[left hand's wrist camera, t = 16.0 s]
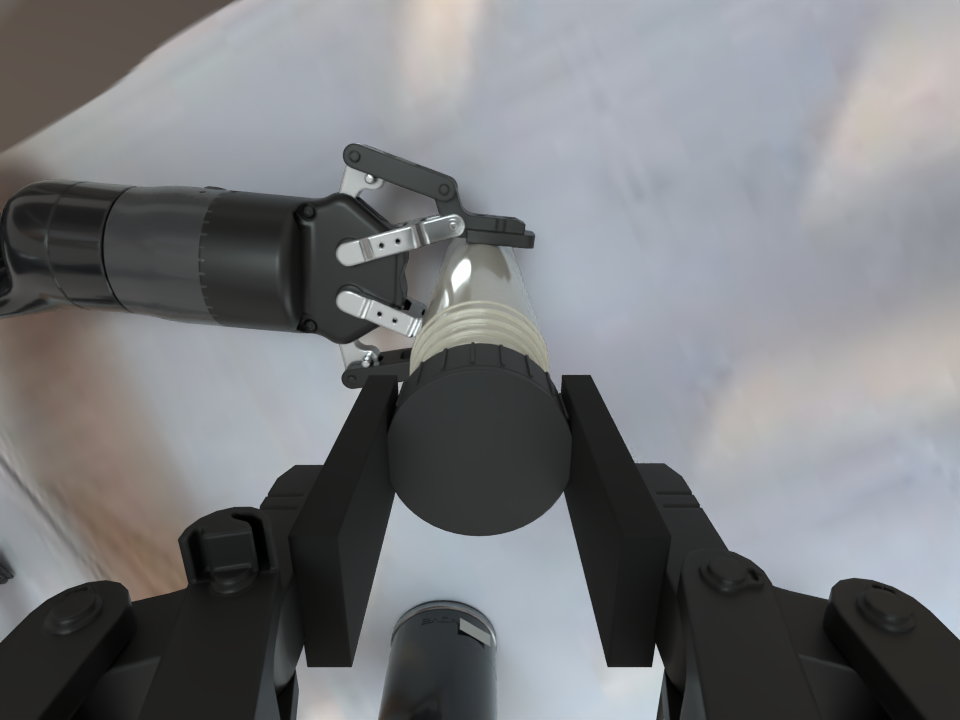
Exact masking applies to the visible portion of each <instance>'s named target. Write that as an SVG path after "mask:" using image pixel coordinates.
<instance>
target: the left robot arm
mask: <svg viewBox="0 0 960 720" xmlns="http://www.w3.org/2000/svg"><path fill="white" fill-rule="evenodd" d="M561 395H562V398H563V401H564V404H565V407H566V410H567V413H568V416H569V418H570V419H568V420H567V421H568V424H569V427H570V430H571V433H572V447H571V462H570V476H569V481H568V483H567V485H566V487H565V489H564V494H565V498H566V502H567V506H568V510H569V514H570V518H571V522H572V526H573V530H574V534H575V538H576V542H577V546H578V550H579V554H580V558H581V562H582V566H583V570H584V574H585V578H586V582H587V586H588V590H589V594H590V598H591V602H592V606H593V610H594V614H595V618H596V622H597V626H598V630H599V634H600V638H601V642H602V646H603V650H604V654H605V658H606V662H607V666H608V667H652V663H653V656H654V650H655V643H656V645H657V648H658V650H659V653H660V656H661V659H662V661H663V664H664V667H665V669H664V675H663V681H662V687H661V693H660V699H659V705H658V712H657V719H656V720H960V640H959V639H958V638H957V637H956V636H955V635H954V634H953V633H952V632H951V631H950V630H949V629H948V628H947V627H946V626H945V625H944V624H943V623H942V622H941V621H940V620H939V619H938V618H937V617H936V616H935V615H934V614H933V613H932V612H931V611H930V610H928V609H927V608H926V607H924V606H923V605H922V604H921V603H919V602H918V601H917V600H916V599H914V598H913V597H911V596H909V595H907V594H905V593H904V592H902V591H900V590H898V589H896V588H894V587H892V586H889V585H886V584H883V583H880V582H877V581H874V580H867V579H859V578H851V579H846V580H840V581H839V582H838V583H837V584H835V585H834V586H833V587H832V589H831V592H830V596H829V599H828V600H827V599H823V598H818V597H814V596H810V595H805V594H801V593H796V592H792V591H788V590H785V589H782V588H778V587H775V586H773V585H772V583H771V581H770V580H769V578H768V577H767V575H766V574H765V572H764V571H763V570H762V569H761V568H760V567H758V566H757V565H756V564H755V563H753V562H752V561H751V560H749V559H747V558H745V557H743V556H741V555H739V554H737V553H735V552H731V551H729V550H728V549H727V547H726V545H725V544H724V542H723V541H722V539H721V537H720V536H719V534H718V533H717V531H716V530H715V528H714V526H713V525H712V523H711V522H710V520H709V518H708V517H707V515H706V514H705V512H704V511H703V509H702V508H700V504H699V503H698V501H697V499H696V498H695V496H694V495H692V492H691V490H690V488H689V487H688V485H687V484H686V482H685V480H684V479H683V477H682V476H681V475H679V474H678V473H677V472H675V471H674V470H673V469H671V468H670V467H668V466H667V465H666V464H664V463H634V461H633V459H632V457H631V455H630V453H629V451H628V449H627V447H626V445H625V443H624V441H623V439H622V437H621V435H620V433H619V431H618V429H617V427H616V425H615V423H614V421H613V419H612V417H611V415H610V413H609V411H608V409H607V407H606V405H605V403H604V401H603V399H602V397H601V395H600V393H599V391H598V389H597V387H596V385H595V383H594V381H593V379H592V377H591V375H562V384H561ZM398 396H399V395H398V378H397V375H369V376H368V378H367V380H366V382H365V384H364V386H363V388H362V390H361V392H360V394H359V396H358V398H357V400H356V402H355V404H354V406H353V408H352V410H351V412H350V414H349V416H348V418H347V420H346V422H345V424H344V426H343V428H342V430H341V432H340V434H339V436H338V438H337V440H336V441H335V443H334V445H333V447H332V449H331V451H330V453H329V455H328V457H327V459H326V461H325V463H324V465H295V466H293V467H292V468H291V469H289V470H288V471H287V472H285V473H284V474H283V475H281V476H280V477H279V478H277V480H276V482H275V483H274V485H273V486H272V488H271V490H270V491H269V493H268V497H265V499H264V501H263V502H262V504H261V505H260V509H257V508H253V507H233V508H228V509H224V510H219V511H216V512H214V513H211V514H209V515H207V516H204V517H202V518H200V519H198V520H197V521H196V522H194V523H193V524H192V525H190V526H189V527H187V528H186V529H185V531H184V532H183V533H182V535H181V536H180V537H179V539H178V542H179V546H180V550H181V554H182V558H183V563H184V567H185V571H186V575H187V579H188V583H189V584H188V586H187V588H185V589H182V590H179V591H176V592H172V593H169V594H164V595H160V596H156V597H151V598H147V599H143V600H138V601H134V602H131V599H130V595H129V592H128V590H127V589H126V588H125V587H124V586H123V585H122V584H121V583H118V582H112V581H107V580H104V581H96V582H88V583H85V584H82V585H78V586H75V587H72V588H69V589H67V590H65V591H63V592H61V593H59V594H57V595H55V596H53V597H52V598H50V599H48V600H46V601H45V602H44V603H42V604H41V605H40V606H39V607H37V608H36V609H35V610H34V611H32V612H31V613H30V614H29V615H28V616H27V617H26V618H25V619H24V620H23V621H22V622H21V623H20V624H19V625H18V626H17V627H16V628H15V629H14V630H13V631H12V632H11V633H10V634H9V635H8V636H7V637H6V638H5V639H4V640H3V641H2V642H1V643H0V720H296V715H297V704H298V694H299V688H298V681H297V675H296V669H295V668H296V665H297V662H298V660H299V657H300V654H301V651H302V648H303V646H304V647H305V654H306V660H307V667H352V664H353V660H354V656H355V652H356V648H357V644H358V640H359V636H360V632H361V628H362V624H363V620H364V616H365V612H366V608H367V604H368V600H369V596H370V592H371V588H372V584H373V580H374V576H375V572H376V568H377V564H378V560H379V556H380V552H381V548H382V544H383V540H384V536H385V532H386V528H387V524H388V520H389V516H390V512H391V508H392V504H393V500H394V496H395V490H394V489H393V486H392V484H391V482H390V470H389V456H388V441H387V431H388V428H389V425H390V422H391V419H392V416H393V413H394V410H395V407H396V402H397V399H398Z"/></svg>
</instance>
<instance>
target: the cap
mask: <svg viewBox="0 0 960 720" xmlns="http://www.w3.org/2000/svg"><path fill="white" fill-rule="evenodd" d="M568 419H570V418H569V416H568V413H567V410H566V407H565V404H564V401H563V398H562V395H561V393H558V391H557V389H556V387H555V385H554V383H553V382H552V380H551V379H550V375H549V373H548V372H545V371H544V370H543V369H542V368H541V367H540V366H539V365H538V364H536V363H535V362H534V361H533V360H531V359H530V358H529V356H528V355H527V354H526V355H524V354H522V353H520V352H517V351H515V350H513V349H510V348H507V347H504V346H503V345H502V344H500V345H495V344H486V343H475V342H471V344H464V345H459V346H455V347H452V348H448V349H447V348H444V350H443V351H441V352H439V353H437V354H435V355H433V356H432V357H430V358H429V359H427V360H426V361H425V362H423V361H422V362H420V365H419V367H418V368H417V369H416V370H415V371H414V372H413V373H412V374H411V375H410V377H409V378H408V380H407V381H405V380H404V382H403V384H402V387H401V390H400V393H399V396H398V399H397V402H396V407H395V410H394V413H393V416H392V419H391V422H390V425H389V428H388V431H387V441H388V456H389V470H390V482H391V484H392V486H393V489H394V490H395V492H396V493H397V495H398V496H399V498H400V499H401V500H402V502H403V503H404V504H405V505H406V506H407V507H408V508H409V509H410V510H411V511H412V512H413V513H414V514H416V515H417V516H418V517H420V518H421V519H423V520H424V521H426V522H428V523H429V524H431V525H433V526H435V527H438V528H440V529H443V530H445V531H449V532H452V533H456V534H462V535H469V536H490V535H497V534H503V533H506V532H510V531H513V530H516V529H518V528H521V527H524V526H525V525H527V524H529V523H531V522H533V521H535V520H536V519H537V518H539V517H540V516H542V515H543V514H544V513H545V512H546V511H548V510H549V509H550V508H551V507H552V506H553V505H554V503H555V502H556V501H557V500H558V499H559V497H560V496H561V494H562V493H563V491H564V489H565V487H566V485H567V483H568V481H569V476H570V462H571V447H572V433H571V430H570V427H569V424H568V421H567V420H568Z"/></svg>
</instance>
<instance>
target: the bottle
mask: <svg viewBox="0 0 960 720" xmlns="http://www.w3.org/2000/svg"><path fill="white" fill-rule="evenodd" d="M471 342H475V343H486V344H495V345H500V344H502V345H503V346H504V347H507V348H510V349H513V350H515V351H517V352H520V353H522V354H524V355H526V354H527V355H528V356H529V358H530V359H531V360H533V361H534V362H535V363H536V364H538V365H539V366H540V367H541V368H542V369H543V370H544V371H545V372H548V373H549V356H548V351H547V347H546V344H545V341H544V338H543V336H542V333H541V330H540V327H539V324H538V321H537V318H536V315H535V313H534V310H533V307H532V304H531V301H530V298H529V295H528V293H527V290H526V287H525V284H524V281H523V278H522V275H521V272H520V270H519V267H518V264H517V261H516V258H515V255H514V252H513V249H512V247H506V246H495V245H486V244H474V243H466V238H458V237H455V238H454V239H453V240H452V241H451V243H450V244H449V246H448V249H447V251H446V254H445V257H444V260H443V263H442V265H441V268H440V271H439V274H438V277H437V279H436V282H435V285H434V288H433V291H432V293H431V296H430V299H429V302H428V305H427V308H426V310H425V313H424V316H423V319H422V322H421V324H420V327H419V330H418V333H417V336H416V338H415V341H414V344H413V348H412V351H411V357H410V375H411V374H412V373H413V372H414V371H415V370H416V369H417V368H418V367H419V365H420V362H422V361H423V362H425V361H426V360H427V359H429V358H430V357H432V356H433V355H435V354H437V353H439V352H441V351H443V350H444V348H447V349H448V348H452V347H455V346H459V345H464V344H471Z"/></svg>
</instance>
